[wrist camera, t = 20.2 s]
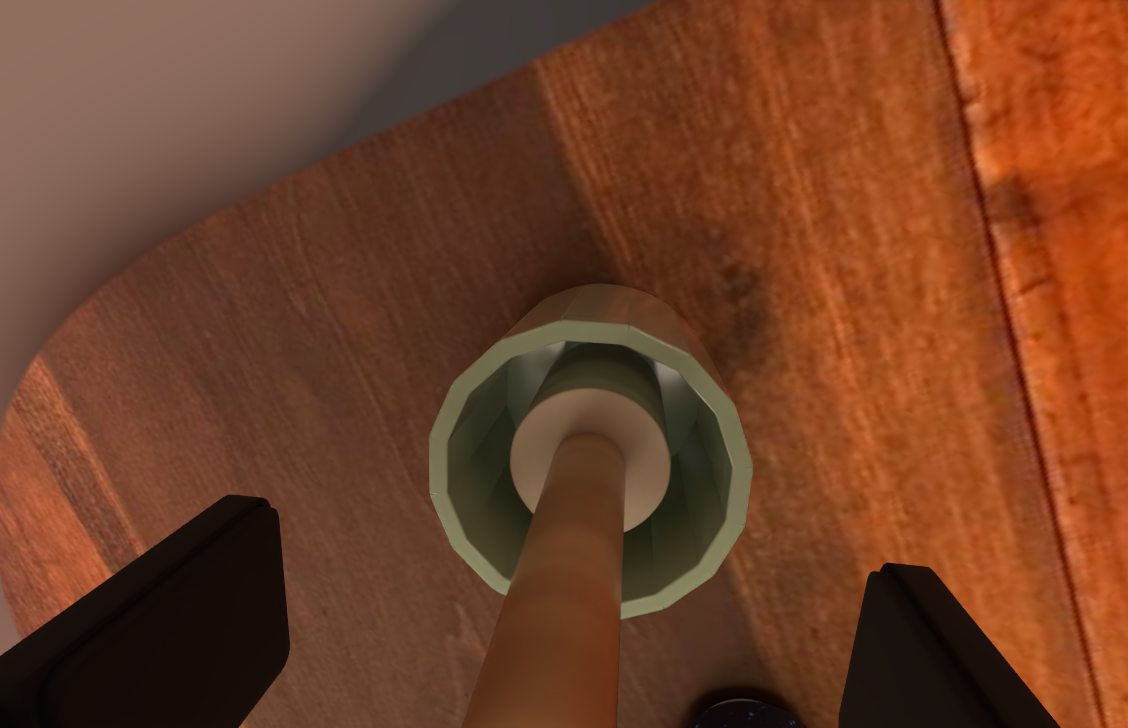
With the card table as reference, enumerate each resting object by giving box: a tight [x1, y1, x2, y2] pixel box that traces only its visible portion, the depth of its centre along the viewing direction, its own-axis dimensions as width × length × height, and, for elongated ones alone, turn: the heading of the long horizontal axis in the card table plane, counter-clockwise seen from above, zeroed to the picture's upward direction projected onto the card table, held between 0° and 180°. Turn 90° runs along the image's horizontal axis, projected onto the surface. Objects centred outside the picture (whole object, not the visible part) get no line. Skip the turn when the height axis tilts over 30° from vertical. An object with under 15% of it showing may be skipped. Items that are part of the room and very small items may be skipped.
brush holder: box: [429, 284, 753, 619], centre depth 19 cm, size 8×8×8 cm
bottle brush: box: [462, 343, 671, 728], centre depth 14 cm, size 4×4×16 cm
